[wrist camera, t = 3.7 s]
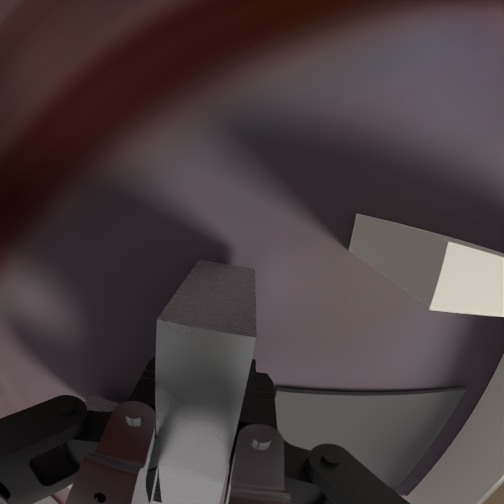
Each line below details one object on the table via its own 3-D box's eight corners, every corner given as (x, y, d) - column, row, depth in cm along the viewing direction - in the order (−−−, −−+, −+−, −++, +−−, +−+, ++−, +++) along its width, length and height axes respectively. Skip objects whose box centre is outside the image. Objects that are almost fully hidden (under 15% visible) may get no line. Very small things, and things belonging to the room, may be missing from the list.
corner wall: (356, 213, 11) (448, 241, 5) (543, 267, 11) (607, 294, 6) (257, 509, 15) (258, 572, 10) (419, 492, 16) (440, 538, 10)
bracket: (220, 451, 13) (212, 529, 8) (95, 419, 12) (58, 482, 8) (255, 269, 11) (256, 337, 6) (79, 237, 10) (-8, 271, 5)
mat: (276, 387, 13) (277, 391, 12) (464, 386, 13) (466, 388, 13) (243, 491, 15) (243, 494, 14) (398, 483, 15) (399, 485, 15)
